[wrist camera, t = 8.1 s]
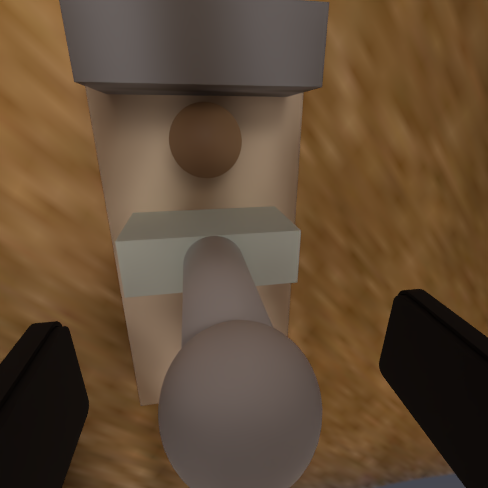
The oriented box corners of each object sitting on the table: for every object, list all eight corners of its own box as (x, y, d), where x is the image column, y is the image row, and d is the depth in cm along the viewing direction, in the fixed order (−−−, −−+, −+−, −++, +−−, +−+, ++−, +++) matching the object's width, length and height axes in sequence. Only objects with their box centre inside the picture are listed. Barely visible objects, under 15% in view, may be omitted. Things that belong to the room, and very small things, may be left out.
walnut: (233, 105, 17) (241, 101, 15) (233, 169, 19) (241, 177, 16) (168, 105, 17) (165, 101, 14) (174, 171, 18) (172, 179, 15)
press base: (295, 36, 18) (354, -12, 12) (278, 367, 28) (305, 440, 21) (85, 25, 16) (19, -38, 10) (143, 386, 26) (129, 471, 20)
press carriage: (275, 198, 20) (489, 377, 6) (273, 254, 21) (438, 505, 7) (131, 204, 18) (-49, 463, 4) (140, 264, 20) (27, 600, 6)
